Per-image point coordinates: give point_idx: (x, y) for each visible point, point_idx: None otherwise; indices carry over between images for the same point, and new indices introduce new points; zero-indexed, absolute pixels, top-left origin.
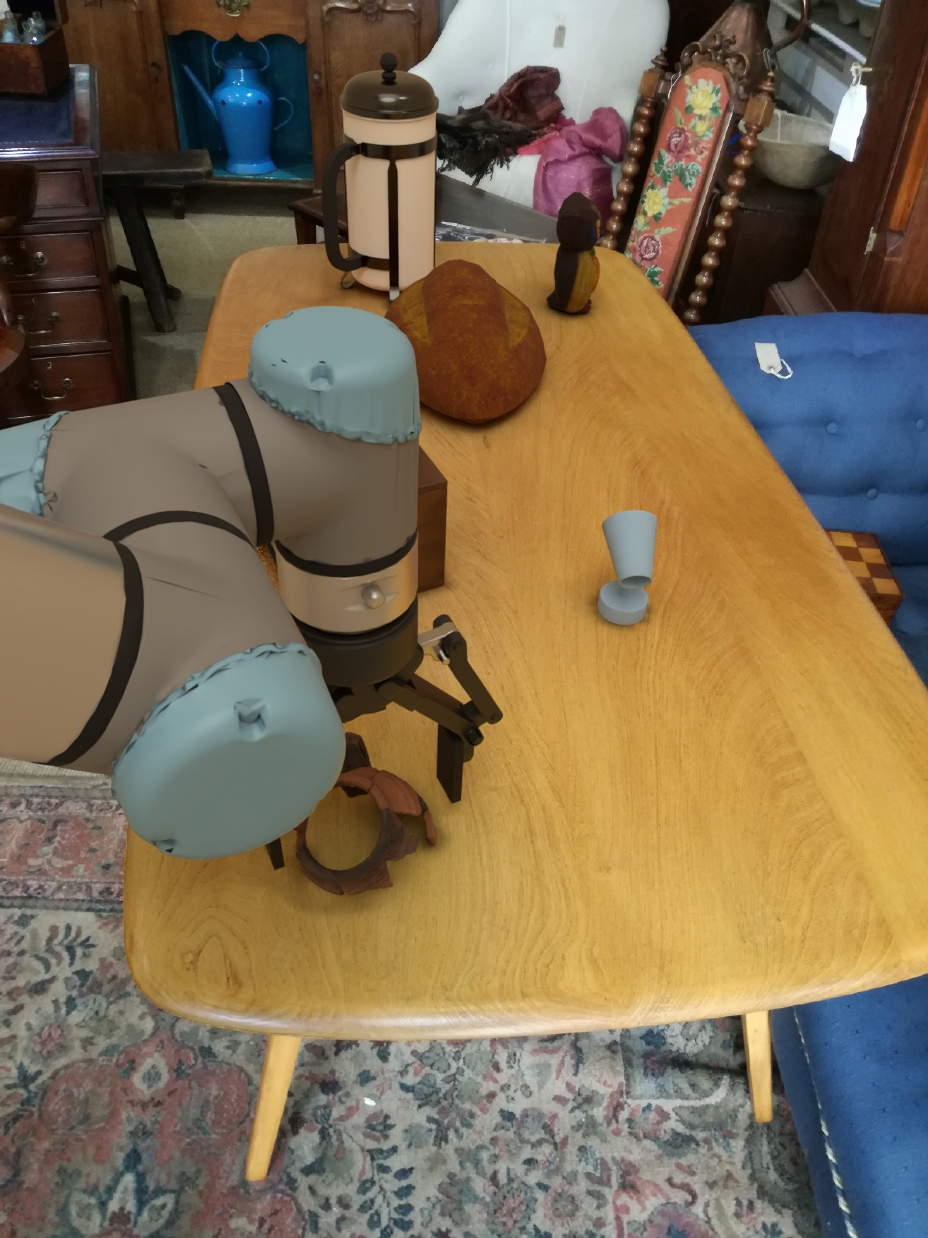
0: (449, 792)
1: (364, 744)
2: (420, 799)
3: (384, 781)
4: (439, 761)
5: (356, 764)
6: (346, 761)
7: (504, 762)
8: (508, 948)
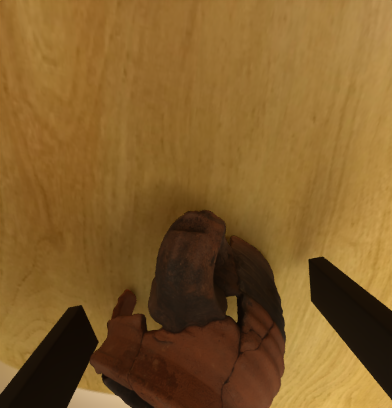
0: (321, 306)
1: (224, 229)
2: (284, 341)
3: (246, 390)
4: (342, 298)
5: (201, 318)
6: (182, 318)
7: (384, 210)
8: (292, 384)
